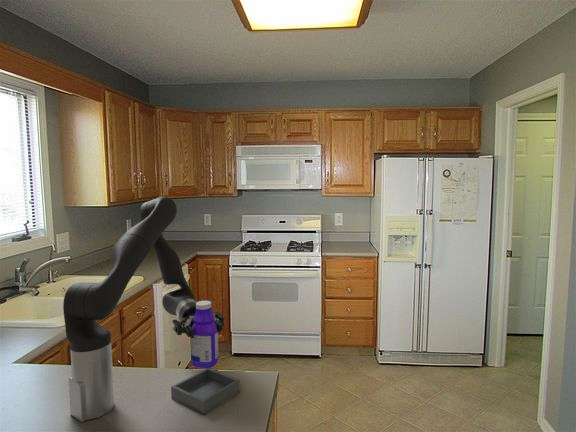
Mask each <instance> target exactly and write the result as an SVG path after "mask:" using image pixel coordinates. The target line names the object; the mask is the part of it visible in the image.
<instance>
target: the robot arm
mask: <svg viewBox="0 0 576 432" xmlns="http://www.w3.org/2000/svg"><path fill="white" fill-rule="evenodd" d="M177 212H178V208H177V204H176V202H175V200H173V199H172V198H171V197H168V196H161V197H160V196H159V197H157V198H154V199H151V200H148V201H146V202H143V203H142V204H141V205H140V209H139V214H140V219H141V221H140V222H138V223H136V224H134V226H132V227H131V228H129V229H128V230H127V231H126V232H124V233H123V234H122V235H121V237H120V238H119V239H118V240H117V242H116V243H115V244H114V245H113V247H112V248H111V253H110V262H111V268H112V269H111V270H110V272H109V274H108V275H107V276H106V277H105V279H104V280H103V281H100V282H75V283H73V284H71V285H70V286H69V287H68V288H67V290H66V291H65V294H64V298H63V302H62V305H63V308H62V309H63V320H64V326H65V336H66V339H67V342H68V343H69V347H70V364H71V366H70V367H71V376H70V377H69V378H68V392H69V393H68V394H69V410H70V412H69V413H70V415H71V416H73V417H74V418H75V419H77V420H78V421H80V423H81V422H82V423H83V422H85V421H88V420H92V419H97V418H100V417H102V416H105V415H106V414H108V413H109V412H111V411H112V410H113V409H114V406H115V399H114V398H115V395H114V376H113V375H114V372H113V358H112V357H113V356H112V355H113V354H112V353H113V352H112V335H111V330H109V329H108V328H107V327H105V326H102V325H101V324H99V323H98V322H97V321H102V320H105V319H107V318H108V317H109V316H110V315H111V314H112V313H113V312H114V310H115V309H116V308H117V305H118V304H119V302H120V300H121V298H122V295H123V294H124V292H125V290H126V288H127V286H128V284H129V283H130V281H131V279H132V277H133V276H134V275H135V273H136V272H137V270H138V268H139V267H140V265H141V264H142V263H143V262H144V260H145V258H146V257H147V256H148V254H149V252H150V251H151V250H152V248H153V250H154V252H155V254H156V258H157V262H158V264H159V271H160V274H161V276H162V281H163V284H164V285H167V286H170V285H177V286H179V287H180V289H179V288H178V289H176V290H172V291H168V292H167V293H165V294H164V295H163V297H162V301H161V302H162V307H163V309H164V310H165V311H166V312H167V313H168V314H170V315H171V316H175V317H177V319H172V330H173V331H174V333H176V335H177V336H182V335H183V334H184V335H185V336H186V337H187V338H190V339H191V338H194V331H193V329H192V326H193V324H194V321H193V318H194V316H195V314H196V303H197V302H198V301H196V297H195V293H194V292H193V290H192V289H191V287H190V285H189V283H188V282H187V279H186V278H185V277H186V276H185V274H184V271H183V266H182V263H181V260H180V257H179V255H178V253H177V251H176V250H175V249H174V248H173V247H172V246H171V244H169V242H168V241H167V240H166V239H165V237H164V236H163V233H164V231H165V230H166V229H167V228H168V227H169V226H170V225H171V224H172V223H173V221H174V220H175V218H176V216H177ZM213 315H214V316H215V319H214V322H215V324H216V325H217V328H218V334H219V333H222V331H223V330H224V329H223V327H225V317H224V315H222V314H221V312H220V311H216V312H215V313H214V314H213Z"/></svg>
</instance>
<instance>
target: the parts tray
mask: <svg viewBox="0 0 576 432" xmlns="http://www.w3.org/2000/svg"><path fill="white" fill-rule="evenodd" d="M240 387H241V385H240V379H237V378H235V377H234V376H233V377H232V376H230V375H227V374H225V373H222V372H221V371H220V372H219V371H217V370H215V369H212V368H203V370H201V371H199V372H197V373H195V374H193V375H191V376H189V377H186V378H185V379H183V380H181V381H180V382H177V383H175V384H174V385H171V386H170V389H171V390H170V392H171V400H172V401H175V402H176V403H179V404H180V405H183V406H184V407H187V409H191V410H192V411H194V412H196V413H199V414H200V415H203V416H205V415H207V414H208V413H210V412H211V411H213V410H214V409H216V408H217V407H219V406H221V405H222V404H224V403H226V402H227V401H229V400H231V399H232V398H233V397H235V396H236V395H238V394H240V393H241V392H240V391H241V388H240Z"/></svg>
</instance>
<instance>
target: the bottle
mask: <svg viewBox="0 0 576 432" xmlns="http://www.w3.org/2000/svg"><path fill="white" fill-rule="evenodd" d="M196 302H197V303H196V314H195V316H194V318H193V321H194V324H193V326H192V329H193V331H194V338H190V346H191V347H190V349H191V350H190V351H191V352H190V353H191V363H192V366H194V367H196V368H201V369H206V368H210V369H212V368H214V367H215V365H217V364H218V361H219V333H218V328H217V325H216V324H215V322H214V319H215V316H214V315H215V314H214V313H213V309H212V301H211V300H201V301H200V300H199V301H196Z"/></svg>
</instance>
